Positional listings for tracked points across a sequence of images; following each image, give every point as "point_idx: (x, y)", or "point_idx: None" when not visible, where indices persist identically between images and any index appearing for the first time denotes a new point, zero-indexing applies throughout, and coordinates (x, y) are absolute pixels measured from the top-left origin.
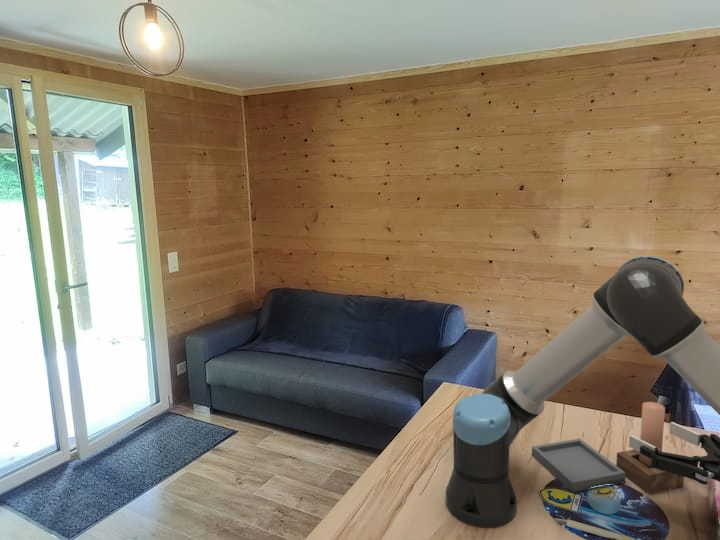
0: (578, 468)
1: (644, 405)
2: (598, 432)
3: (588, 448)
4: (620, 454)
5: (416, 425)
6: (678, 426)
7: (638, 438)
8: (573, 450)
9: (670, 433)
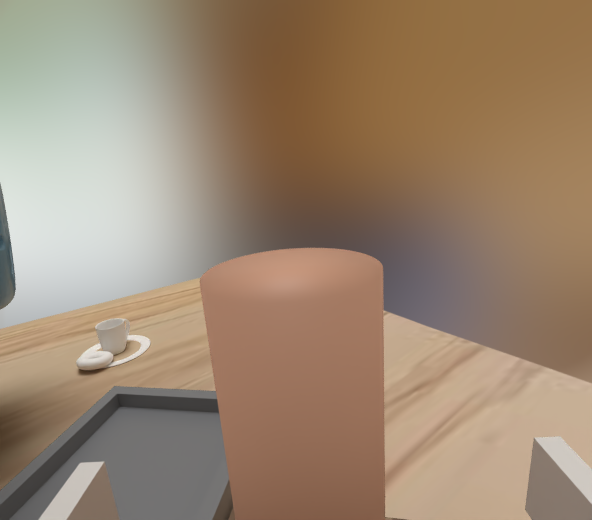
0: None
1: (237, 260)
2: (385, 387)
3: None
4: (233, 518)
5: (90, 308)
6: (586, 501)
7: (61, 517)
8: (210, 427)
9: (530, 516)
